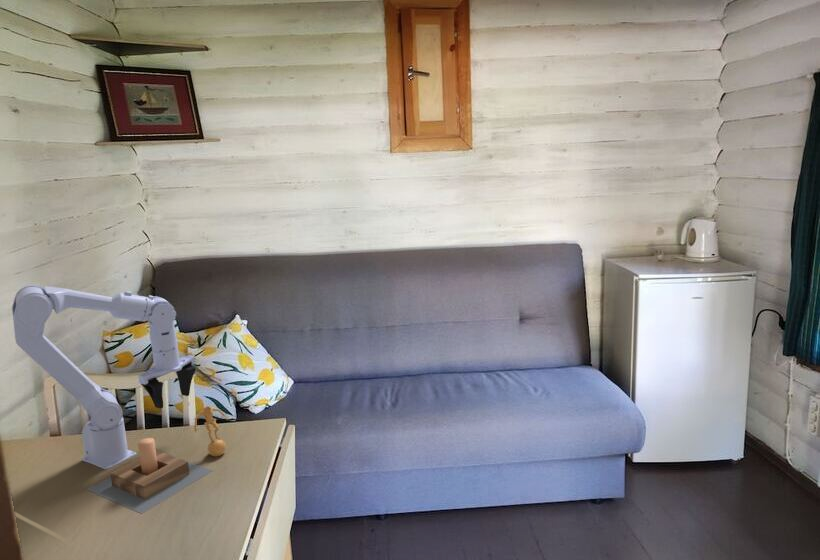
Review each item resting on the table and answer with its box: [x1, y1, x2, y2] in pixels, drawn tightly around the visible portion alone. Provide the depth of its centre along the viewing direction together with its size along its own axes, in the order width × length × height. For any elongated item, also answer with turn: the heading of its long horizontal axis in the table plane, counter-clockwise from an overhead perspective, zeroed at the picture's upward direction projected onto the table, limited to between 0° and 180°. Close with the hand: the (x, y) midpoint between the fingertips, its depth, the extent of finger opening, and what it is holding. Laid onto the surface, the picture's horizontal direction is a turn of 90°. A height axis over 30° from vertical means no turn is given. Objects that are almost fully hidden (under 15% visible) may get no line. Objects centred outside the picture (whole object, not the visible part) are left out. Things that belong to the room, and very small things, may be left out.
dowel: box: [137, 437, 158, 476], centre depth 128 cm, size 3×3×9 cm
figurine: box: [193, 405, 228, 458], centre depth 139 cm, size 8×6×12 cm
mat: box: [86, 461, 214, 515], centre depth 129 cm, size 18×18×1 cm
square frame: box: [109, 450, 189, 500], centre depth 128 cm, size 11×11×3 cm
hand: (172, 401), depth 145 cm, fingers open, 7 cm apart
